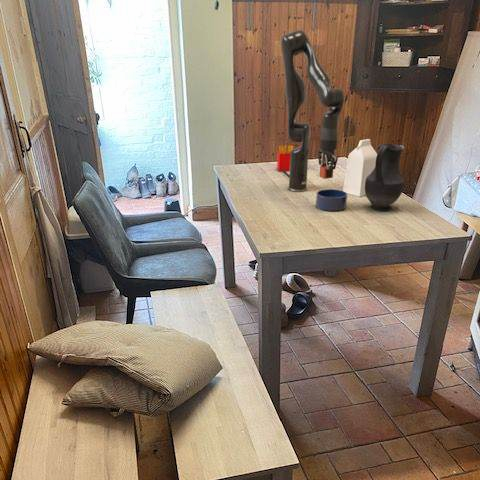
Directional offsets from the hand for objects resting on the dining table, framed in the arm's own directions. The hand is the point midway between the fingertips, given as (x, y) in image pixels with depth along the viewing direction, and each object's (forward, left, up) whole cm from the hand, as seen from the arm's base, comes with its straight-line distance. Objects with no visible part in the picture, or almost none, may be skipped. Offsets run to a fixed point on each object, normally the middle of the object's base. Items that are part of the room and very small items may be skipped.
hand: (326, 176), depth 229 cm
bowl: (-2, +3, -15) cm, 16 cm away
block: (0, 0, 0) cm, 0 cm away
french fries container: (-72, -21, -15) cm, 76 cm away
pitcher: (-1, +26, -15) cm, 30 cm away
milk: (-29, +19, -15) cm, 38 cm away
